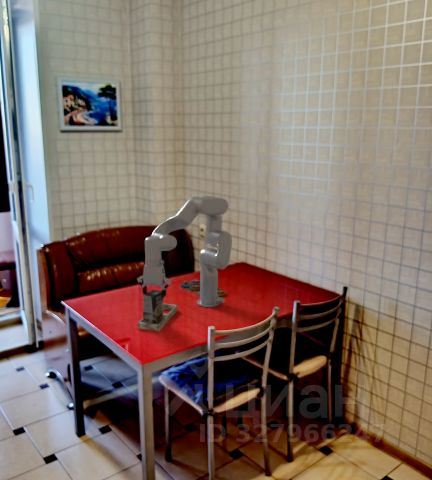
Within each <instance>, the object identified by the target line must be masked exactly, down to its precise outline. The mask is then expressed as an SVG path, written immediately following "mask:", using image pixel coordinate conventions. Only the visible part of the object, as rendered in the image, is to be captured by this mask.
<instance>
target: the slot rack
mask: <svg viewBox="0 0 432 480" xmlns="http://www.w3.org/2000/svg"><path fill="white" fill-rule="evenodd" d="M178 307H179V306H178V305H177V304H169V303H163V311H164V310H166V311H169V312H168V313H163V319H162V321H161V322H160V323H159V324H151V323H143V317H141V319H140V320H139V321H138V322H137V329H138V330H139V329H140V330H148V331H153V332H155V331H156V332H160V331H161V330H162V329H163V328H164V327H165V325H166V324H167V323H168V322H169V321H170V320H171V319H172V318H173V316H174V315H175V314H176V313H177V312H178V310H179V309H178Z"/></svg>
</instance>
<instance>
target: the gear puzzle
mask: <svg viewBox="0 0 432 480" xmlns="http://www.w3.org/2000/svg"><path fill="white" fill-rule="evenodd" d="M179 288H180V290H186V291H188V292H189V293H196V294H197V295H198V296H200V280H199V279H192V280H191V281H189V282H188V281H187V280H184V281H183V283H181V284H180V285H179ZM217 295H219V297H224V296H225V295H227V291H224V290H223V289H222V290H221V288H220V287H219V286H217Z"/></svg>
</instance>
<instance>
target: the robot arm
mask: <svg viewBox="0 0 432 480" xmlns="http://www.w3.org/2000/svg"><path fill="white" fill-rule="evenodd" d="M228 209H229V203H228V201H227V199H226V198H223V197H216V196H211V195H203V196H191V197H190V198H188V200H187V201H186V202H185V203H184V204H183V206H182V207H181V208H180V209H179V210H178V212H177V213H176V214H175V215H173V216H171V217H169V218H168V219H166V220H164V221H163V222H161V223H160V224H159V225H158V226H157V227H155V229H154V230H153V232H152V234H151V235H150V236H148V237H146V238H145V240H144V253H145V254H144V256H145V260H144V261H145V264H144V266H143V273H142V275H140V276H139V277H137V278H136V280H137V282H138V284H139V286H141V287H140V288H141V289H142V294H143V295H144V294H146V293H148V287H147V286H154V287H155V286H156V287H160V288H161V289H162V290H161V291H162V298H163V299H164V298H165V297H166V295H167V288H169V286H170V285H171V283H172V280H171V279H169V278H168V277H166V273H165V272H166V271H165V267H164V264H165V260H162V252H163V251H164V252H166V251H167V252H168V251H171V250H173V249H175V248H176V246H177V245H178V241H177V239H176V237H175V236H174V235H172V234H170V233H171V232H174V231H178V230H182V229H185V228H188V227H190V225H191V224H192V223H193V221H194V220H195V219H196V217H197V216H198V215H204V216H205V218H206V223H205V231H204V237H203V238H204V239H203V240H204V243H205V244H206V245H208V246H211V247H204V248H201V250H200V252H199V254H198V261H199V267H200V268H199V269H200V276H199V277H200V280H199V281H200V295H199V298H198V300H197V301H196V303H197V305H198V306H200V307H203V308H215V307H217V306H219V305H220V304H223V303H225V299H224V297H220V296H219V295H217V287H218V283H219V282H218V281H219V280H218V279H219V278H218V276H219V272H218V269H219V270H225V269H226V268H227V267H228V265H229V263H230V258H231V252H232V251H231V250H232V244H233V240H232V239H233V237H232V235H231V233H230V232H229V231H226V230H223V229H222V226H223V225H222V224H223V218H222V215H224V214H226V213H227V211H228ZM212 247H214V248H212ZM215 248H217V249H215ZM165 283H166V284H165ZM143 295H142V296H143Z"/></svg>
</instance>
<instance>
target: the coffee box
mask: <svg viewBox="0 0 432 480" xmlns="http://www.w3.org/2000/svg"><path fill="white" fill-rule="evenodd" d="M163 304H164V298H162V290H156V289H152V290H149V291H147V293H146V294H144V295H142V318H143V323H151V324H159V323H160V322H161V321H162V319H163V314H164V309H163Z"/></svg>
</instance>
